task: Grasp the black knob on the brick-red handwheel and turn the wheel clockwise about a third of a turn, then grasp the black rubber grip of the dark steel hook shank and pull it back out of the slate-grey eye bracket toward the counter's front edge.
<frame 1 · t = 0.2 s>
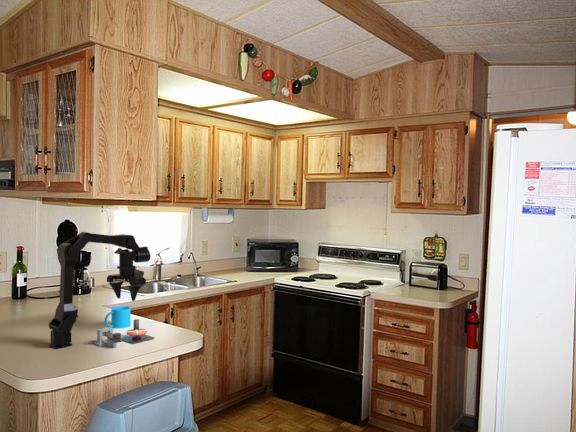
hand: (126, 299, 210), 14 cm above the table, fingers open, 9 cm apart
mug: (117, 327, 219), on the table
hook rod: (109, 335, 191), point 4 cm above the table, slide at 0.0 cm
eye bracket: (105, 343, 193), on the table
wheel mount: (136, 339, 200), on the table
handwheel: (136, 328, 199), point 4 cm above the table, hinge at 60.0°
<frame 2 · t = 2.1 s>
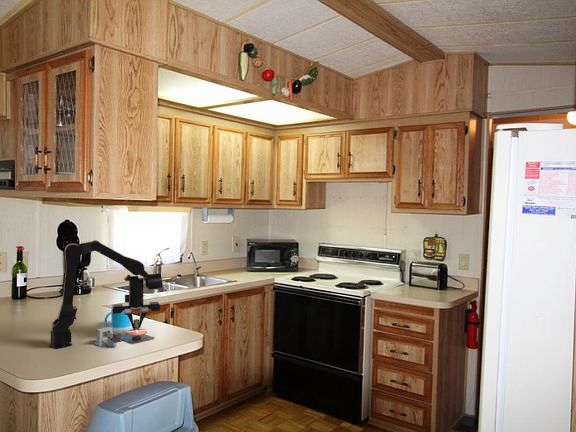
hand: (136, 328, 202), 4 cm above the table, fingers closed on handwheel, 2 cm apart
handwheel: (136, 328, 199), point 4 cm above the table, hinge at 60.1°, touching gripper
everything else where it was.
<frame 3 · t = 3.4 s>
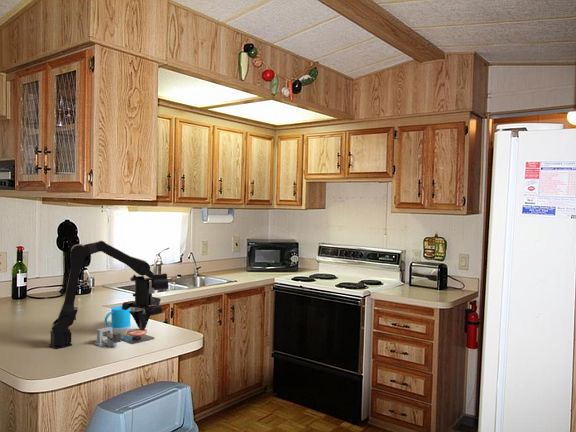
hand: (141, 328, 202), 4 cm above the table, fingers closed on handwheel, 2 cm apart
handwheel: (136, 328, 199), point 4 cm above the table, hinge at 11.9°, touching gripper
everything else where it was.
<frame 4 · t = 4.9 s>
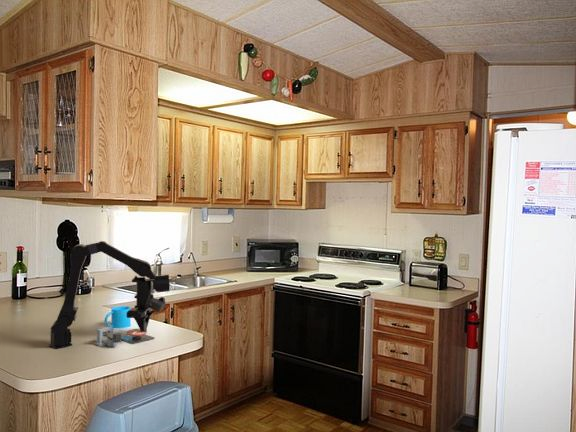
hand: (143, 330, 199), 4 cm above the table, fingers closed on handwheel, 2 cm apart
handwheel: (136, 328, 199), point 4 cm above the table, hinge at -55.9°, touching gripper
everything else where it was.
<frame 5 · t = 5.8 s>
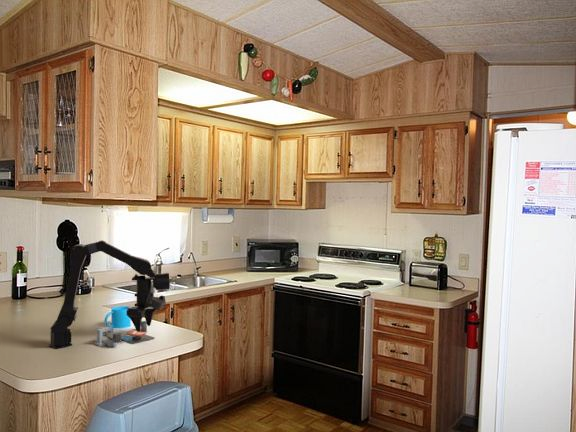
hand: (143, 328, 199), 5 cm above the table, fingers open, 9 cm apart
handwheel: (136, 328, 199), point 4 cm above the table, hinge at -56.4°
everything else where it was.
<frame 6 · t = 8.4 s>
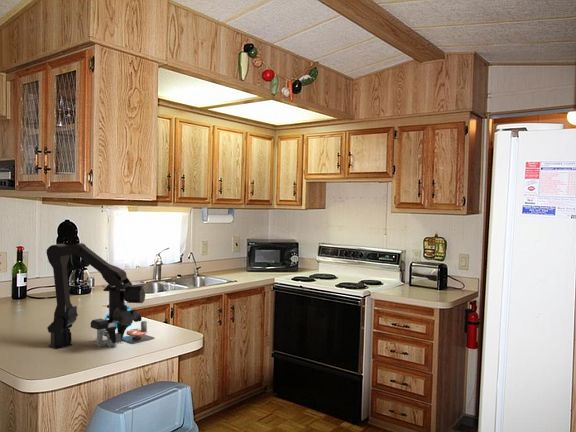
hand: (116, 342, 188), 2 cm above the table, fingers closed on hook rod, 2 cm apart
hook rod: (109, 335, 191), point 4 cm above the table, slide at 0.0 cm, touching gripper
everything else where it was.
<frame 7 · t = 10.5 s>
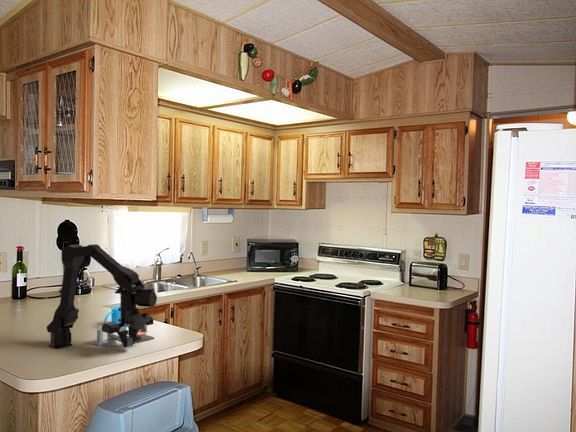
hand: (128, 346, 183), 2 cm above the table, fingers closed on hook rod, 2 cm apart
hook rod: (120, 338, 187), point 4 cm above the table, slide at 7.8 cm, touching gripper
everything else where it was.
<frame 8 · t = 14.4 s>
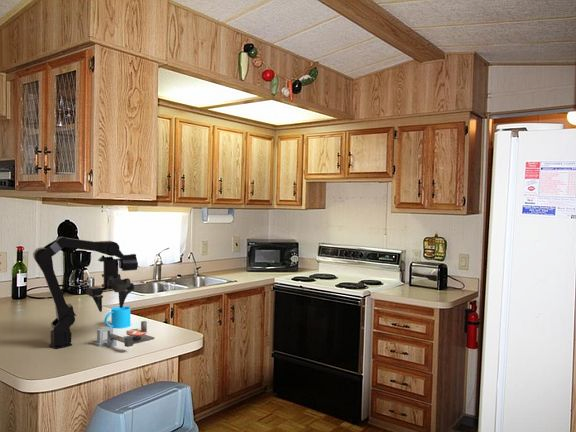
hand: (111, 309, 200), 12 cm above the table, fingers open, 9 cm apart
hook rod: (120, 338, 186), point 4 cm above the table, slide at 7.9 cm
everything else where it was.
at the end: handwheel at -56° (first picture: +60°); hook rod slide at 7.9 cm; the gripper is holding nothing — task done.
